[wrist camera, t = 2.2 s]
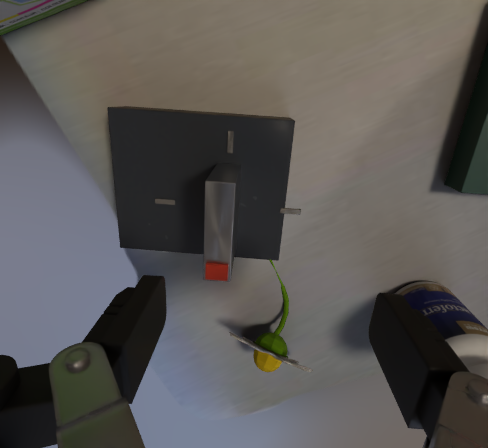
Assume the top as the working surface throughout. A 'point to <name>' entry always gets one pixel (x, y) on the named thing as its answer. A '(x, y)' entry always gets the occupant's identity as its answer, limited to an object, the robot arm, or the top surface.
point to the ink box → (29, 11)
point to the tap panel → (198, 176)
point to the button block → (473, 141)
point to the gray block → (221, 221)
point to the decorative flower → (272, 344)
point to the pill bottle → (451, 323)
